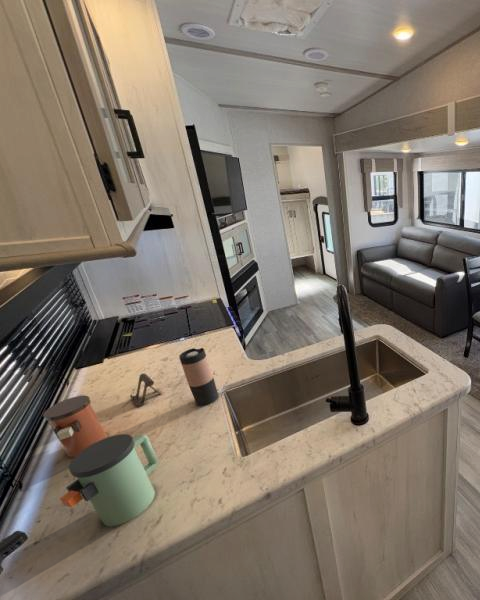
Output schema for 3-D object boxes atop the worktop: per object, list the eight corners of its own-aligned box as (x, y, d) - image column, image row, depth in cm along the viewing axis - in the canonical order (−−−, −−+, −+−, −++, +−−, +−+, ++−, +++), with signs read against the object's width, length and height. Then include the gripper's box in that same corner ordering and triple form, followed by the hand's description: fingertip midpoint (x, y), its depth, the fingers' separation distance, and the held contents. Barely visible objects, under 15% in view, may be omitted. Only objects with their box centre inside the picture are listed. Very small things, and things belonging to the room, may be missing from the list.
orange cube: (75, 496, 66) (71, 489, 65) (83, 498, 65) (79, 491, 64) (63, 505, 64) (59, 498, 63) (72, 507, 63) (67, 500, 63)
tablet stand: (131, 399, 116) (123, 381, 113) (156, 388, 122) (148, 370, 119) (138, 408, 111) (130, 389, 108) (163, 396, 117) (156, 378, 114)
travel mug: (199, 410, 108) (182, 361, 101) (193, 401, 113) (176, 353, 106) (222, 398, 113) (207, 351, 106) (215, 390, 118) (200, 345, 111)
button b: (62, 435, 86) (59, 430, 86) (74, 431, 88) (71, 426, 87) (59, 440, 85) (56, 434, 84) (71, 436, 86) (68, 430, 85)
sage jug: (148, 471, 85) (124, 421, 79) (179, 477, 82) (158, 426, 76) (82, 529, 71) (48, 473, 65) (118, 539, 68) (85, 482, 62)
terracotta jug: (75, 436, 99) (54, 397, 94) (114, 424, 104) (96, 386, 99) (59, 467, 88) (34, 425, 83) (103, 451, 93) (82, 410, 87)
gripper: (-139, 667, 39) (38, 527, 55) (-194, 638, 42) (-11, 513, 58) (-102, 696, 41) (57, 554, 57) (-156, 667, 44) (9, 540, 60)
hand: (23, 534), depth 57 cm, fingers closed
